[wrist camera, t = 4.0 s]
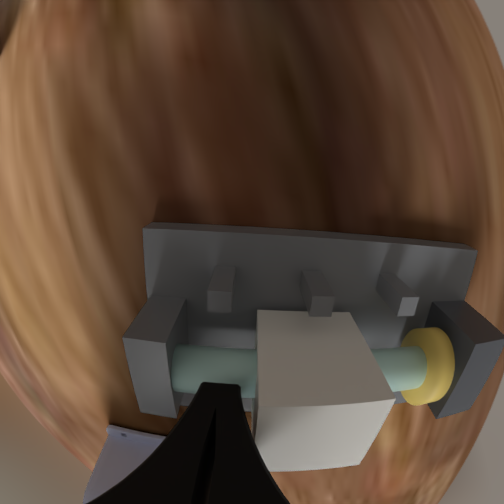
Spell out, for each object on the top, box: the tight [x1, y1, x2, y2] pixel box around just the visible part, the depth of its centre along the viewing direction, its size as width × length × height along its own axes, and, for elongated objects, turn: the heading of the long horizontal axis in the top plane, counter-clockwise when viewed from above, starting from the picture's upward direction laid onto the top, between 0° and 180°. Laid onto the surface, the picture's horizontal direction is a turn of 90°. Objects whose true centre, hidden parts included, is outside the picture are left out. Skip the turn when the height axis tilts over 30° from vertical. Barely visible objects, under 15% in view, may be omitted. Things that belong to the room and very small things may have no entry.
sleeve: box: [251, 310, 396, 471], centre depth 10 cm, size 4×4×5 cm
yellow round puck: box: [400, 327, 455, 405], centre depth 11 cm, size 1×4×4 cm, turn 176°
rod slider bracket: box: [122, 222, 504, 419], centre depth 12 cm, size 16×10×5 cm, turn 87°
